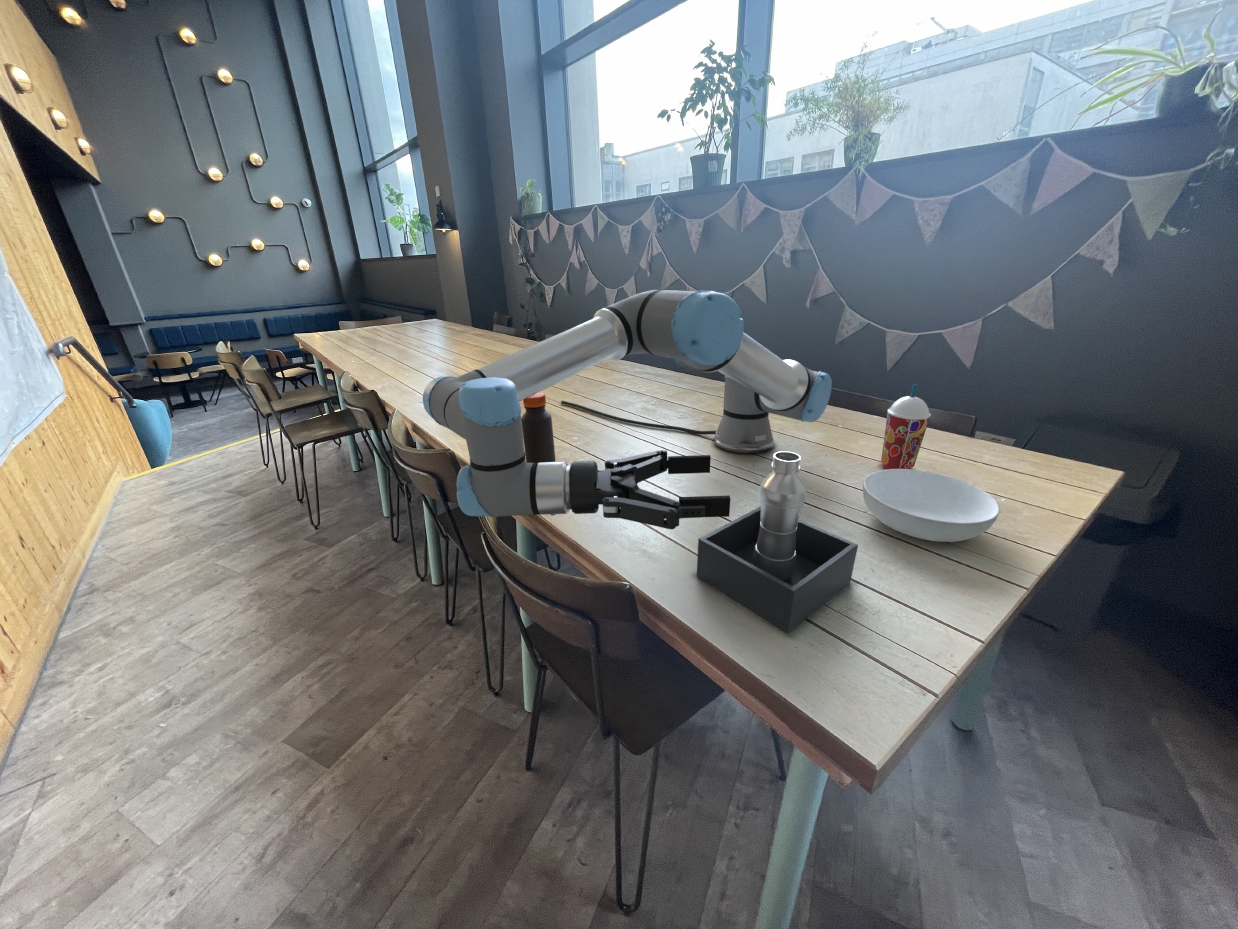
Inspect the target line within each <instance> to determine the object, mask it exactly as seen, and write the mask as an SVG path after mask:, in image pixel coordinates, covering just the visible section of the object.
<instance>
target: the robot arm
mask: <svg viewBox="0 0 1238 929" xmlns="http://www.w3.org/2000/svg"><path fill="white" fill-rule="evenodd" d="M741 316H742V311H741V308H740V306H739V305H738V303H737V301H735V300H734V299H733V298H732V297H730V296H729V295H728V294H726V293H722V292H717V291H714V290H711V289H709V290H708V289H704V290H702V289H701V290H695V291H692V290H671V289H668V290H667V289H650V290H645V291H642V292H639V293H636V294H633V295H632V296H629V297H626V298H624V299H622V300H619V301H617V302H615V303H614V302H613V303H612V304H609V305H607V306H605V307H602V308H601V309H598V310H597V311H596V312H595V313H594V315H593V318H592V319H589V320H587V321H585V322H582V323H580V324H578V325H576V326H574V327H571V328H569V329H566V330H564V331H562V332H560V333H557V334H555V335H553V336H550V337H548V338H546V339H543V340H541V341H539V342H537V343H534V344H532V345H529V346H526V347H525V348H522V349H519V350H518V351H515V352H513V353H511V354H508V355H506V356H504V357H501V358H499V359H497V360H495V361H493V362H490V363H488V364H486V365H483V366H481V367H478V368H476V369H473V370H471V371H468V372H466V373H463V374H461V375H458V376H457V377H456V376H451V375H445V376H444V375H441V376H438V377H436V378H433V379H432V380H431V381H429V383H428V384H427V385H426V386H425V388H424V390H423V393H422V405H423V409H424V411H425V412H426V413H427V415H429V417H430V418H432V419H433V420H434V421H435V423H436V424H438V425H439V426H442V427H444V428H446V429H447V430H450V431H452V432H453V433H454V434H456V435H457V436H459V437H461V438H462V439H463V440H465V441H466V446H467V450H468V455H469V463H470V464H466V465H463V466H462V467H461V468H460V469H459V471H458V474H457V477H456V482H455V484H456V485H455V486H456V500H457V504H458V507H459V509H460V510H461V512H462V513H463V514H465V515H466V516H469V517H486V518H487V517H488V518H495V519H496V518H499V517H512V516H513V517H514V516H531V515H532V516H533V515H534V516H535V515H536V516H540V515H550V516H555V515H567V514H568V513H569V512H570V510H571V512H572V513H574V515H585V514H586V515H587V514H597V513H598V511H599V507H600V505H601V506H602V515H603V518H605V519H621V520H626V521H631V522H636V523H638V524H639V523H640V524H644V525H649V526H654V527H659V528H662V529H666V530H674V529H676V528H678V527H679V526H680V519H692V518H693V519H695V518H697V519H698V518H700V519H701V518H726V517H727V518H729V517H730V512H731V499H732V498H731V496H730V495H703V496H702V495H701V496H679V497H678V500H675V499H672V498H669V497H666V496H663V495H660V494H657V493H655V492H652V491H648V490H645V489H642V488H640V487H639V485H638V484H639V483H641V482H643V481H646V480H648V479H652V478H653V477H655V476H658V475H661V474H662V473H665V472H667V474H668V475H683V474H685V475H687V474H710V473H711V462H712V460H711V459H712V456H711V454H699V455H697V454H696V455H668V450H665V449H662V450H654V451H648V452H645V453H640V454H636V455H632V456H628V457H627V456H626V457H623V458H619V459H609V460H608V459H607V460H604V469H602V470H599V468H598V467H599V466H598V463H597V462H596V461H595V460H582V461H581V460H577V461H575V460H574V461H572V462H571V463H570V464H568V462H567V461H563V460H561V461H556V462H540V463H526V456H525V448H524V440H523V431H522V422H521V417H522V414H521V413H522V406H521V403H520V402H521V401H522V402H523V400H524V399H526V398H528V397H530V396H532V395H534V394H536V393H538V392H540V393H541V392H542V391H544V390H546V389H549V388H551V387H553V386H555V385H557V384H559V383H561V382H563V381H566V380H567V379H569V378H572V377H574V376H575V375H578V374H580V373H581V372H583V371H586V370H588V369H590V368H592V367H594V366H596V365H598V364H600V363H602V362H605V361H606V360H608V359H612V360H615V361H618V360H622V359H624V358H625V357H628V356H631V355H638V354H641V355H643V354H644V355H645V354H646V355H653V356H657V357H663V358H669V359H674V360H677V361H681V362H683V363H685V364H687V365H688V366H690V367H691V368H693V369H694V368H695V369H696V370H698V371H700V372H703V373H714V372H719V373H721V374H722V375H724V392H723V396H724V397H723V410H722V417H721V419H720V421H719V424H718V426H717V429H716V430H698V429H697V430H696V429H691V428H686V427H683V426H675V425H666V424H658V423H652V422H646V421H645V422H643V421H638V420H633V419H628V418H625V417H624V418H623V417H619V416H615V415H611V414H608V413H605V412H602V411H598V410H596V409H592V408H590V407H587V406H584V405H581V404H577V403H573V402H569V401H566V400H561V401H560V404H562V405H567V406H571V407H574V408H578V409H581V410H584V411H587V412H590V413H592V414H595V415H599V416H601V417H605V418H607V419H612V420H615V421H618V422H619V421H620V422H624V423H627V424H633V425H637V426H644V427H649V428H650V427H651V428H657V429H664V430H673V431H680V432H685V433H691V434H696V435H714V444H715V445H716V446H717V447H718V448H720V449H721V450H724V451H728V452H731V453H738V454H760V453H764V452H767V451H769V450H771V449H772V447H773V446H774V436H773V433H772V427H771V423H770V420H769V416H770V415H769V414H772V415H777V416H781V417H784V418H787V419H788V418H789V419H793V420H796V421H799V422H800V421H801V422H803V423H804V422H807V423H814V422H816V421H819V419H820V418H821V417H822V415H823V414H824V412H825V410H826V409H827V407H828V404H829V402H830V397H831V394H832V388H833V387H832V386H833V382H832V377H831V375H830V374H828V373H827V372H823V371H821V370H819V371H815V370H812V369H809V368H807V367H806V366H805V365H803V364H802V363H800V362H799V361H796V360H793V359H782V358H780V357H779V356H778V355H777V354H776V353H773V352H772V351H771V350H770V349H768V348H766V347H765V346H764V345H762V344H761V343H759V342H758V341H757V340H755V339H754V338H752V337H751V336H750V335H748V334H747V333H745V332H744V328H745V327H744V326H745V325H744V324H745V323H744V319H743V318H741Z"/></svg>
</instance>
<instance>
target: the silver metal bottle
mask: <svg viewBox="0 0 1238 929" xmlns="http://www.w3.org/2000/svg"><path fill="white" fill-rule="evenodd" d="M800 464H801V456H800V455H799V454H798V453H795V452H794V451H793V452H792V451H777V452H775V453H773V457H772V462H771V469H772V471H770V472H769V473H768V474H767V475H766V476H765V478H764V479H763V480H762V482H761V484H760V486H759V504H760V506H761V516H760V530H759V535H758V539H757V544H756V546H755V549H754V553H753V557H752V559H753V565H754V566H756V567H757V568H759V569H761V570H763V571H765V572H767V573H768V574H770V575H772V576H774V577H776V578H778V579H779V580H781V581H785V580H787V579H788V578H789V577H791V576H792V574H793V573H794V570H795V567H796V551H795V547H796V531H797V526H798V521H799V520H800V516H801V513H802V511H803V510H802V509H803V507H804V505H805V500H806V497H807V490H806V486H805V483H804V481H803V480H802V478H801V476H800V475H799V472H800V470H801V465H800Z"/></svg>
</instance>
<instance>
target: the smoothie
mask: <svg viewBox="0 0 1238 929" xmlns="http://www.w3.org/2000/svg"><path fill="white" fill-rule="evenodd" d="M917 386H918V384H917V383H913V384H912V390H911V393H910V395H906V396H901V397H900V398H898V399H897V400H895V401H894V402H893V403H892V404H891V406H890V407H889V408H887V410H886V411H887V414H886V421H885V428H884V429H885V430H884V437H883V442H882V451H881V459H880V462H881V464H882V468H884V470H888V469H911V470H912V468H914V467H915V465H916V462H917V459H918V456H919V452H920V450H921V446H922V444H923V440H924V437H925V435H926V430H927V429H928V428H927V427H928V425H929V421H930V418H931V416H932V413H931V412H930V409H929V405H928V404H927V403H926V401H924V400H923V399H922V398H920V397H917V396H915V395H916V390H917Z"/></svg>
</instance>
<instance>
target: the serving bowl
mask: <svg viewBox="0 0 1238 929" xmlns="http://www.w3.org/2000/svg"><path fill="white" fill-rule="evenodd" d="M862 496H863V500H864V504H865V505H866V507H867V509H868V510H869V512H870V513H871V514H872V515H873V516H874V517H875V518H876V519H877V520H878V521H880V523H882V524H884V525H885V526H887V527H889V528H891V529H893V530H894V531H896V532H899V533H901V534H904V535H907V536H910V537H913V538H917V539H920V540H927V541H933V542H942V543H954V542H961V541H968V540H970V539H973V538H976V537H978V536H980V535H982V534H984V533H985V532H987V531H988V530H989V529H990V528H992V527H993V525H994V524H995V522H996V520H997V519H998V517H999V516H1000V512H1001V507H1000V505H999V502H997V500H996V499H995V498H994V497H993V496H992V495H990V494H989V493H988V492H987V491H985V490H983V489H981V488H980V487H977V486H976V485H974V484H971V483H969V482H967V481H965V480H961V479H959V478H956V477H952V476H949V475H946V474H941V473H938V472H931V471H926V470H919V469H912V468H911V469H888V470H887V469H880V470H875V471H874V472H871V473H869V474H868V475H866V476H865V477H864V479H863V481H862Z"/></svg>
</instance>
